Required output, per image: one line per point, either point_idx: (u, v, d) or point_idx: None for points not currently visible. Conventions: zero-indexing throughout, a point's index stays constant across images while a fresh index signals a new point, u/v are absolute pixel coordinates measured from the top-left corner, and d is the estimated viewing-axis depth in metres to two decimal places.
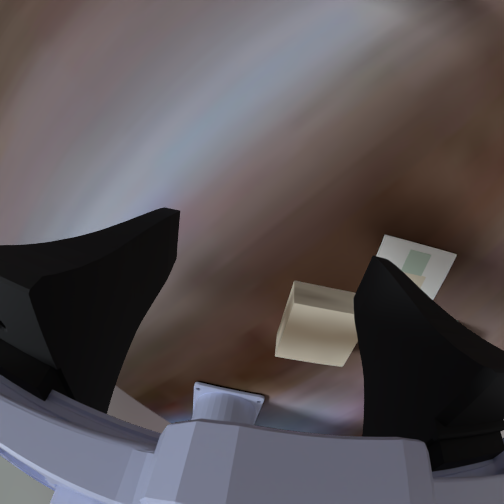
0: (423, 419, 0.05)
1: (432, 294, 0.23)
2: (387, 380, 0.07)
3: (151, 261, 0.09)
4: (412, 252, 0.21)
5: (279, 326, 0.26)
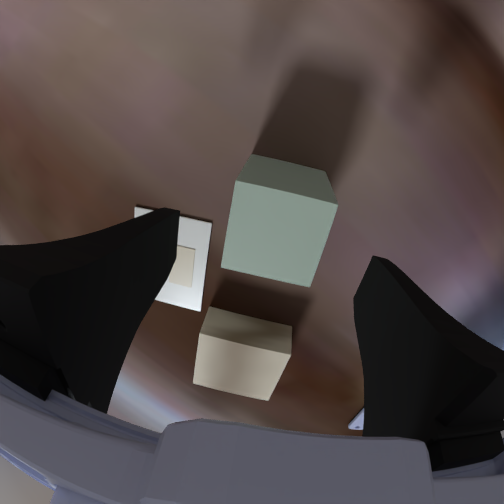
0: (423, 419, 0.05)
1: (198, 225, 0.18)
2: (387, 380, 0.07)
3: (150, 261, 0.09)
4: None
5: None
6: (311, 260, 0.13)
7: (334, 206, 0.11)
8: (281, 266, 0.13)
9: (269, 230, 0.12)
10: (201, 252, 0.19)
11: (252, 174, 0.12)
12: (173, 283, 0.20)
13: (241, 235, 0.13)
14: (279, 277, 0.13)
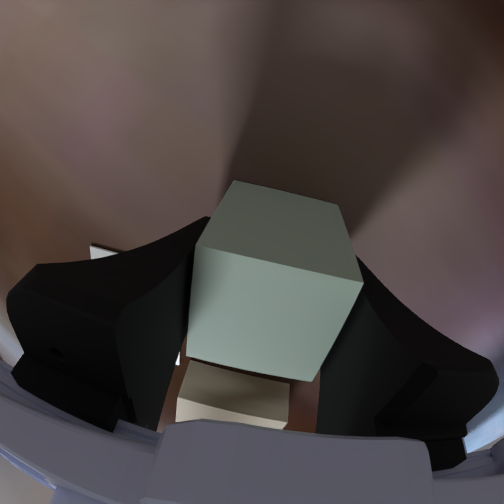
0: (364, 418, 0.05)
1: None
2: (338, 374, 0.07)
3: None
4: None
5: None
6: (316, 354, 0.08)
7: (357, 285, 0.07)
8: (271, 359, 0.09)
9: (252, 316, 0.08)
10: None
11: (227, 226, 0.08)
12: None
13: (211, 320, 0.08)
14: (269, 371, 0.09)
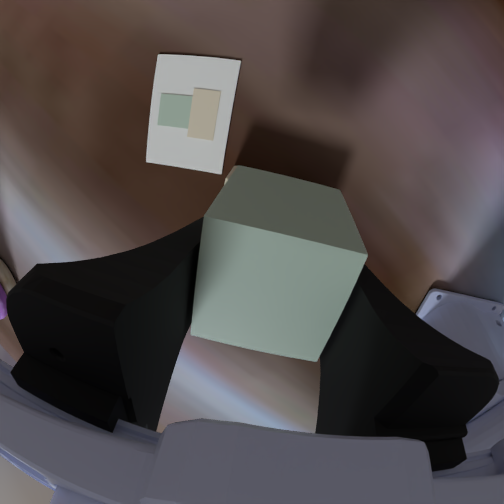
0: (364, 418, 0.05)
1: (226, 64, 0.15)
2: (338, 375, 0.07)
3: None
4: (160, 121, 0.17)
5: None
6: (321, 330, 0.08)
7: (361, 257, 0.07)
8: (276, 337, 0.09)
9: (258, 290, 0.08)
10: (228, 94, 0.16)
11: (233, 201, 0.08)
12: (192, 138, 0.17)
13: (216, 296, 0.08)
14: (273, 350, 0.09)
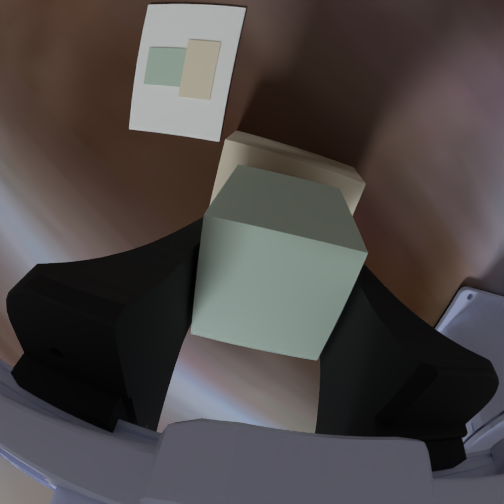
0: (364, 418, 0.05)
1: (228, 12, 0.11)
2: (337, 375, 0.07)
3: None
4: (147, 79, 0.13)
5: None
6: (321, 329, 0.08)
7: (361, 255, 0.07)
8: (277, 336, 0.09)
9: (258, 289, 0.08)
10: (229, 46, 0.12)
11: (233, 200, 0.08)
12: (184, 98, 0.13)
13: (216, 294, 0.08)
14: (274, 349, 0.09)
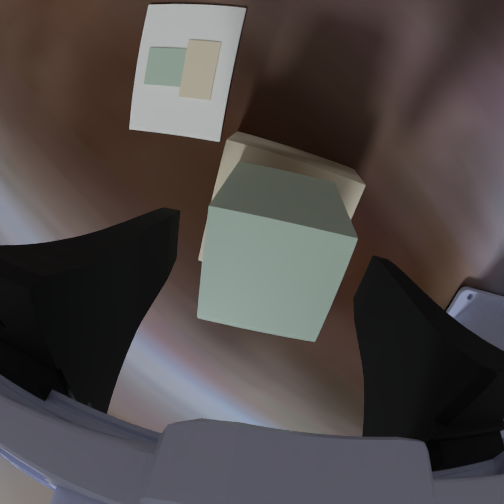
0: (423, 419, 0.05)
1: (228, 12, 0.11)
2: (387, 380, 0.07)
3: (150, 262, 0.09)
4: (147, 79, 0.13)
5: None
6: (317, 311, 0.09)
7: (352, 241, 0.08)
8: (277, 318, 0.10)
9: (259, 273, 0.09)
10: (229, 46, 0.12)
11: (235, 193, 0.09)
12: (184, 98, 0.13)
13: (220, 279, 0.09)
14: (274, 331, 0.10)
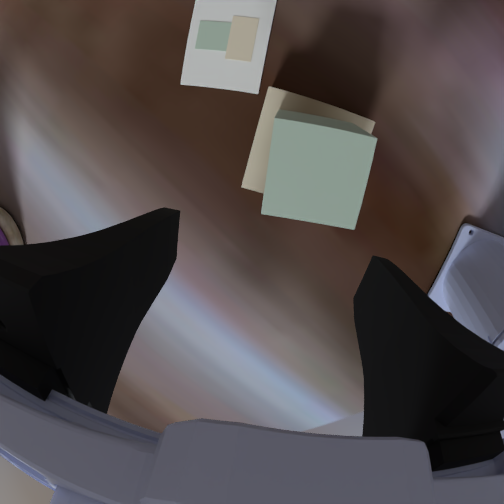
0: (423, 419, 0.05)
1: None
2: (387, 380, 0.07)
3: (150, 261, 0.09)
4: (198, 45, 0.15)
5: None
6: (354, 199, 0.12)
7: (373, 140, 0.10)
8: (324, 207, 0.12)
9: (310, 167, 0.11)
10: (265, 22, 0.14)
11: (287, 116, 0.12)
12: (229, 59, 0.16)
13: (282, 175, 0.12)
14: (323, 220, 0.12)
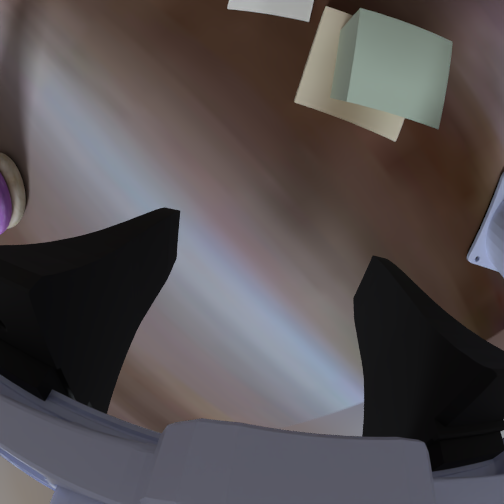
0: (423, 419, 0.05)
1: None
2: (387, 380, 0.07)
3: (151, 262, 0.09)
4: None
5: None
6: (438, 96, 0.09)
7: (450, 42, 0.08)
8: (410, 101, 0.09)
9: (396, 58, 0.09)
10: None
11: None
12: None
13: (369, 62, 0.09)
14: (409, 115, 0.10)
